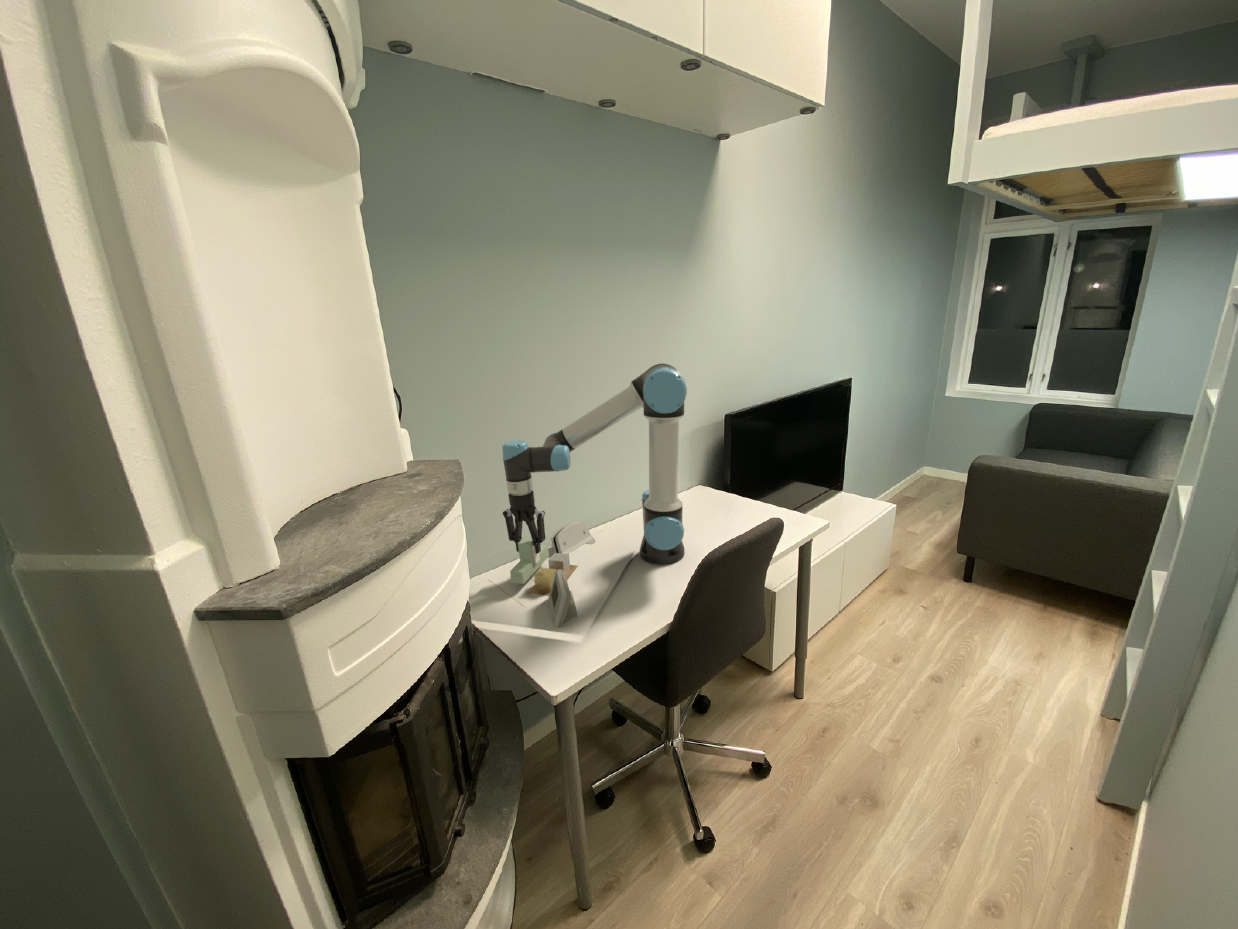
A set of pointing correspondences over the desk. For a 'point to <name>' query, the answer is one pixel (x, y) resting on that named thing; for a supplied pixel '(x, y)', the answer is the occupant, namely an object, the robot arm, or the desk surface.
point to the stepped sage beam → (527, 561)
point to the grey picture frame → (561, 600)
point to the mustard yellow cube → (544, 579)
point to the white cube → (559, 562)
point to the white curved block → (571, 538)
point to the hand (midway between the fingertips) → (530, 561)
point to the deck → (533, 591)
